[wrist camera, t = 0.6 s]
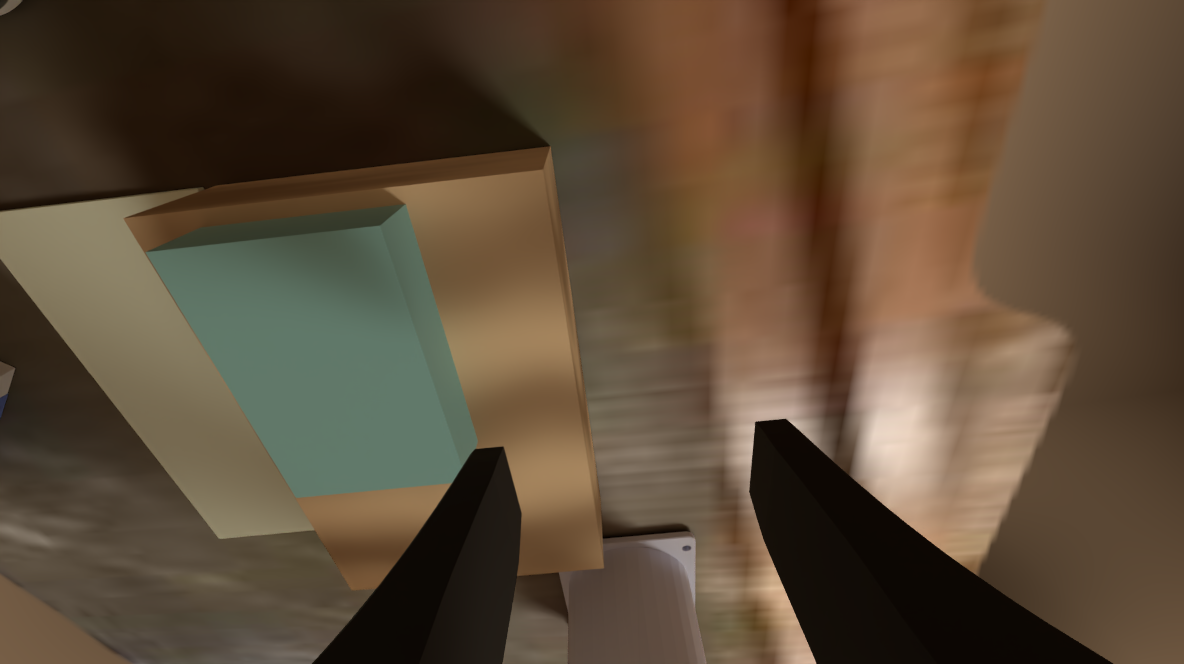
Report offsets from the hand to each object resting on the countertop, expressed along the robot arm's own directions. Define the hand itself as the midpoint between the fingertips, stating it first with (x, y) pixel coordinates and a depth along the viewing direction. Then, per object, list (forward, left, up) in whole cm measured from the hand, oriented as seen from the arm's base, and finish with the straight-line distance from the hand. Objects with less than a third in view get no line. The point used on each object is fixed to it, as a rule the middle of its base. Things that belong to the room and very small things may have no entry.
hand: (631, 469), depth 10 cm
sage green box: (0, +9, -6) cm, 11 cm away
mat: (-4, +18, -10) cm, 21 cm away
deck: (-4, +8, -10) cm, 13 cm away
